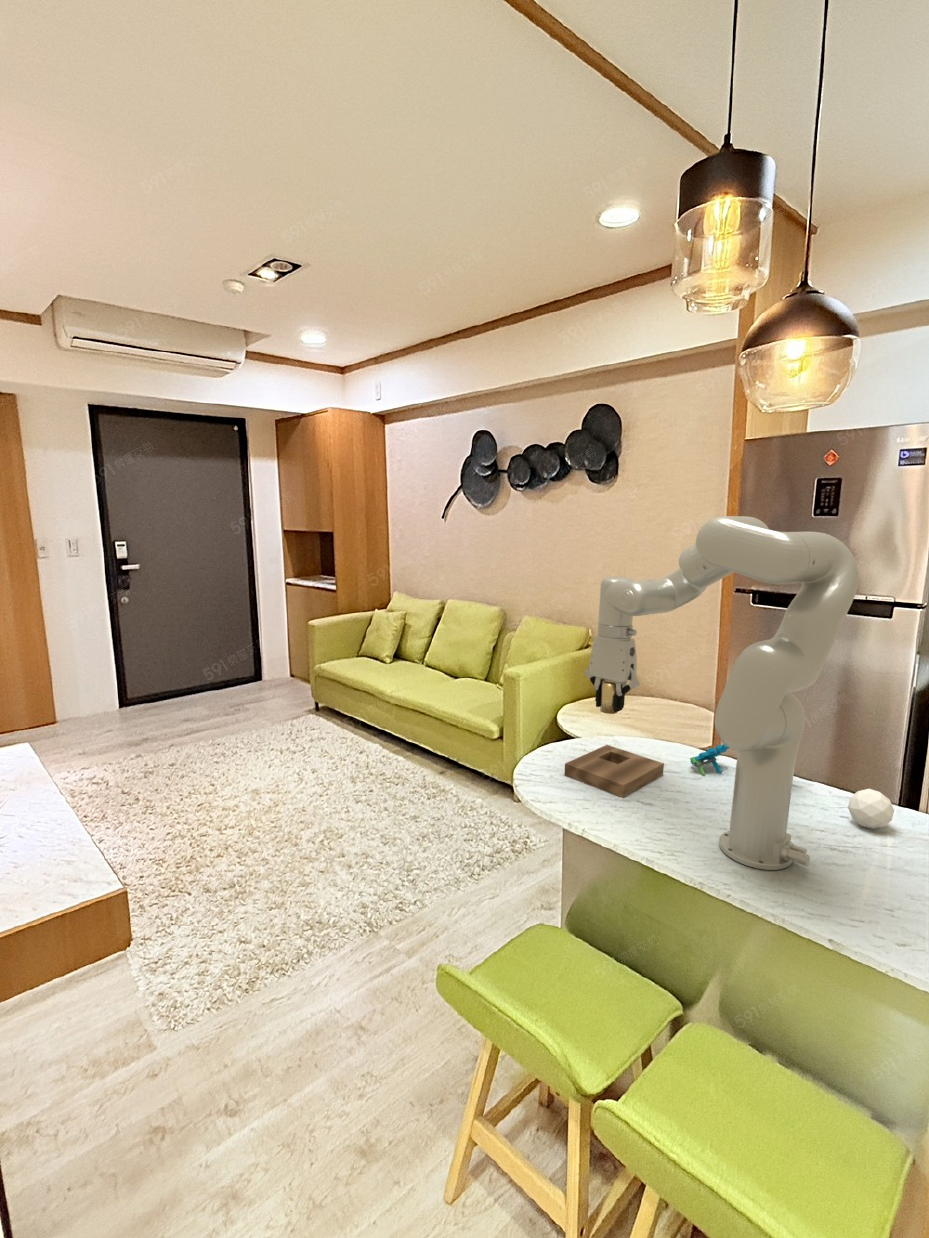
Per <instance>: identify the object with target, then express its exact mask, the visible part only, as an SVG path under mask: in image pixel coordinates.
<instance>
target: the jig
mask: <svg viewBox="0 0 929 1238" xmlns="http://www.w3.org/2000/svg"><path fill="white" fill-rule="evenodd" d="M664 765H665V763H664V762H660V761H658V760H654V759H651V758H648V757H645V756H643V755H639V754H637V753H633V752H631V751H628V750H624V749H621V748H618V747H615V746H611V745H608V744H606V745H603V746H601V747H599V748H596V749H594V750H592V751H589V752H587V753H585V754H583V755H581V756H579V757H576V758H574V759H573V760H569V761H568V762H566V763H564V776H566V777H568V778H571V779H573V780H576V781H578V782H581V783H583V782H584V783H583V784H586V785H587V786H591V787H594V788H596V789H599V790H601V791H604V792H606V793H609V794H611V795H614V796H617V797H620V798H621V799H624V798H626V797H627V796H630V795H631V794H632V793H634V792H636V791H637V790H640V789H642V787H645V786H647V785H648V784H650V783H651V782H654V781H655V780H657V779H658V778H660V777H662V776H663V775H664V769H665V768H664V767H665V766H664Z"/></svg>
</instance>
